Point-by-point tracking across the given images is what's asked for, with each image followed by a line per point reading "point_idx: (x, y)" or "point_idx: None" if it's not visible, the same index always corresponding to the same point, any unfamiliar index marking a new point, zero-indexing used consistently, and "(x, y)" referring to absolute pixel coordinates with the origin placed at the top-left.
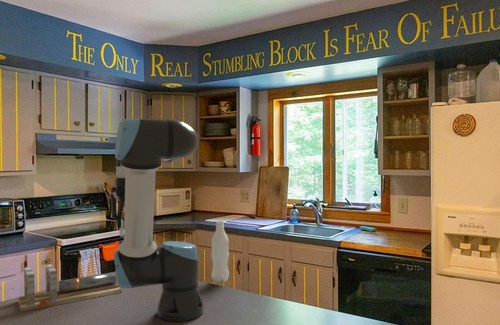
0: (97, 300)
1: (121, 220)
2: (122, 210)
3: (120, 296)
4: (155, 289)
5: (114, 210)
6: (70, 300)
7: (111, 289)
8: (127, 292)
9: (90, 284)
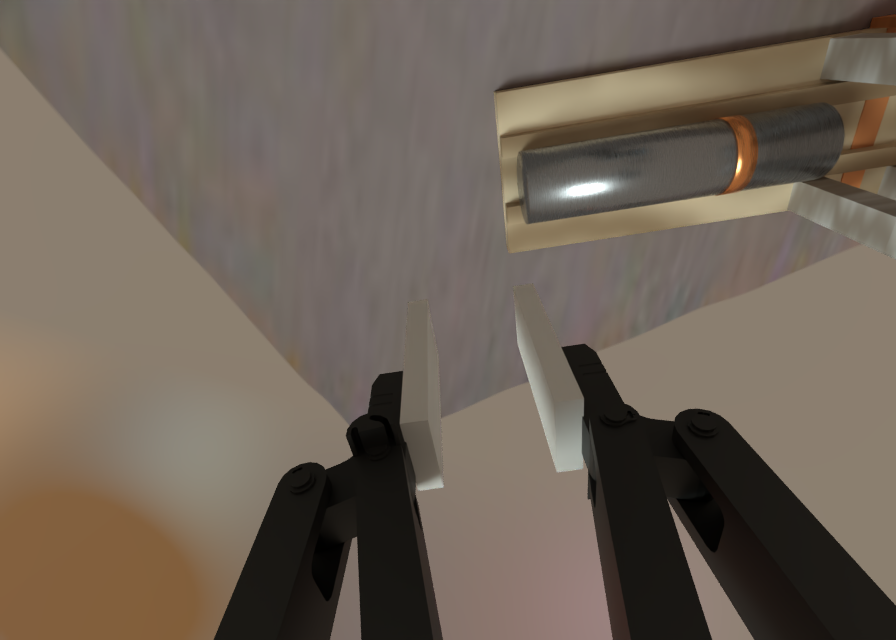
0: (635, 3)
1: (581, 394)
2: (616, 544)
3: (512, 14)
4: (310, 52)
5: (797, 534)
6: (758, 48)
7: (543, 115)
8: (464, 74)
9: (663, 129)
